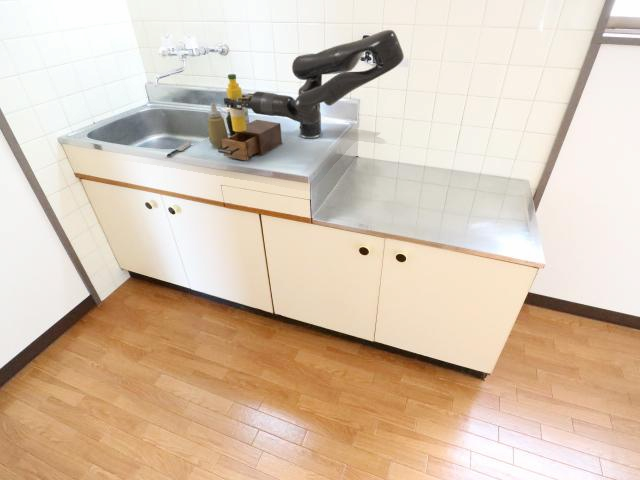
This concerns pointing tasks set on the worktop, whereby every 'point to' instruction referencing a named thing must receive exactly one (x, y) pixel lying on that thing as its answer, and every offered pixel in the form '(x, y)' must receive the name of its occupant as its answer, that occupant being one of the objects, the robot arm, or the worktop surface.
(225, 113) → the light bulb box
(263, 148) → the cabinet
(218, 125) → the squeeze bottle
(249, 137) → the drawer
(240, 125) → the lemon bottle
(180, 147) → the chef's knife
